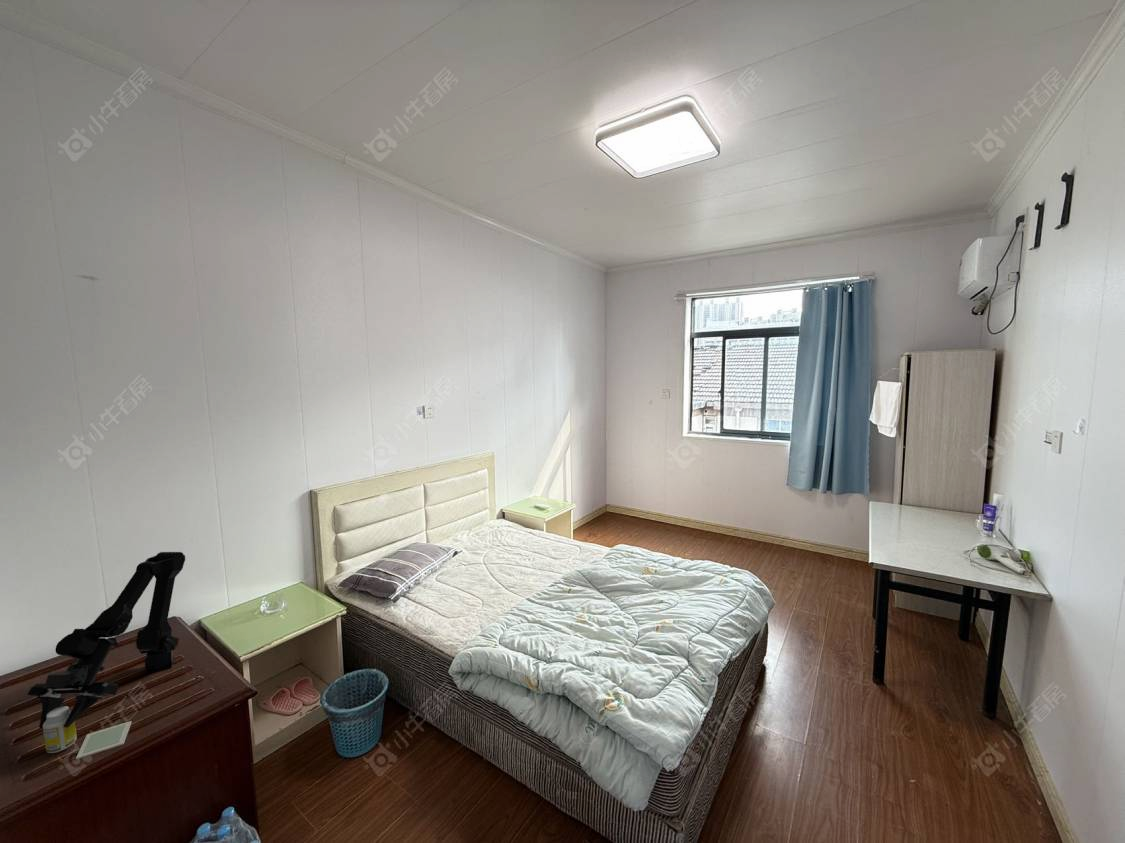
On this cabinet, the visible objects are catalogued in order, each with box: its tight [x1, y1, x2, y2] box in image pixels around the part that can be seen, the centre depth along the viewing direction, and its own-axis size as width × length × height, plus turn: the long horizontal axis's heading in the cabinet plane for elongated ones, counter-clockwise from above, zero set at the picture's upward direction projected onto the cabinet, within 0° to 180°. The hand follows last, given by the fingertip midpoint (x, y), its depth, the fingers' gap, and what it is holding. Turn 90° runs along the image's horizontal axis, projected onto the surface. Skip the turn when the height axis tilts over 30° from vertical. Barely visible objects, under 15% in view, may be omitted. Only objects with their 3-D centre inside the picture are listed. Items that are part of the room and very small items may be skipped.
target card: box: [75, 720, 132, 760], centre depth 121 cm, size 9×9×1 cm
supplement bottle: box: [42, 705, 78, 754], centre depth 117 cm, size 6×6×10 cm
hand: (53, 727), depth 116 cm, fingers closed on supplement bottle, 6 cm apart
